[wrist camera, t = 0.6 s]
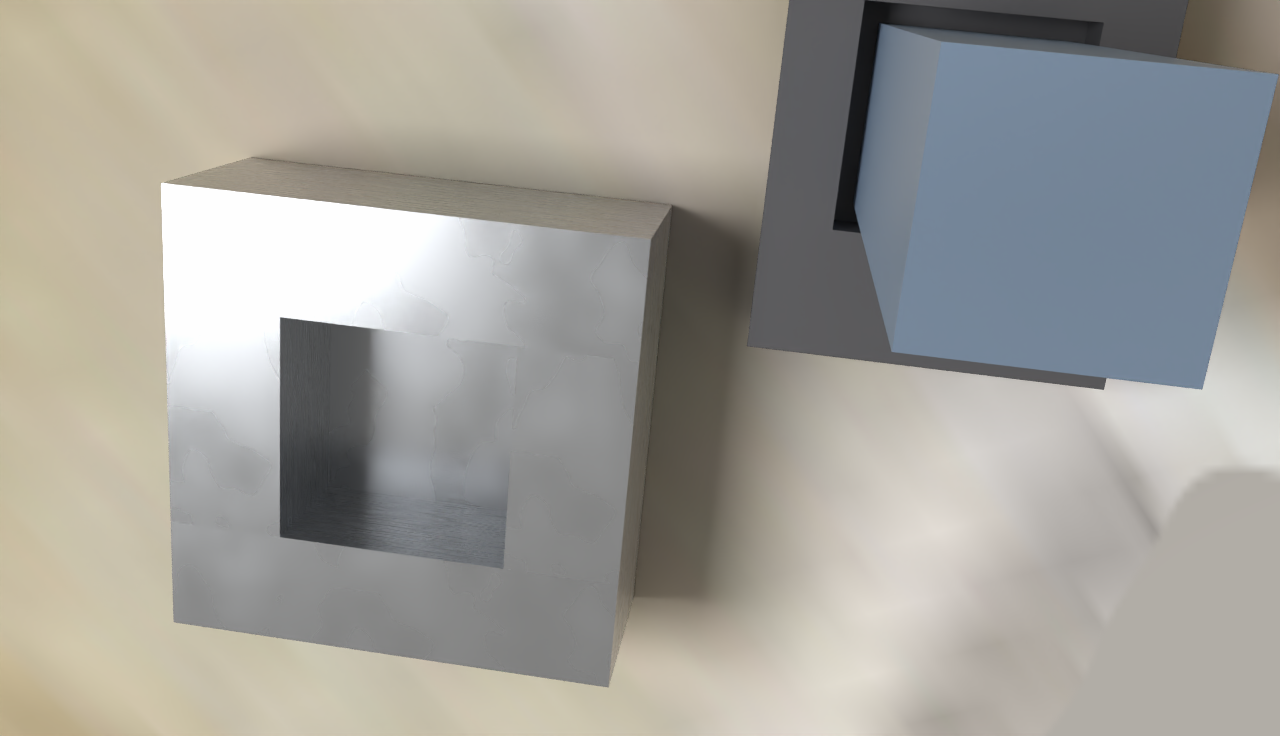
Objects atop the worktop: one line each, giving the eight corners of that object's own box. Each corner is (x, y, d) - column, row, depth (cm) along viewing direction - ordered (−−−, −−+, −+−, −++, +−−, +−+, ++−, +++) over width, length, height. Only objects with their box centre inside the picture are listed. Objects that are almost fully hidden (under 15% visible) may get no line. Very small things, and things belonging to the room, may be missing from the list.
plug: (879, 22, 30) (940, 40, 17) (1064, 40, 30) (1278, 74, 16) (852, 202, 31) (892, 351, 18) (1029, 222, 31) (1202, 389, 18)
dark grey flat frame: (807, -144, 30) (808, -156, 28) (1181, -112, 29) (1214, -122, 27) (750, 321, 34) (747, 346, 31) (1081, 361, 33) (1103, 389, 30)
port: (250, 157, 34) (161, 183, 29) (672, 204, 33) (650, 239, 28) (252, 563, 38) (174, 644, 33) (631, 618, 37) (606, 710, 32)
